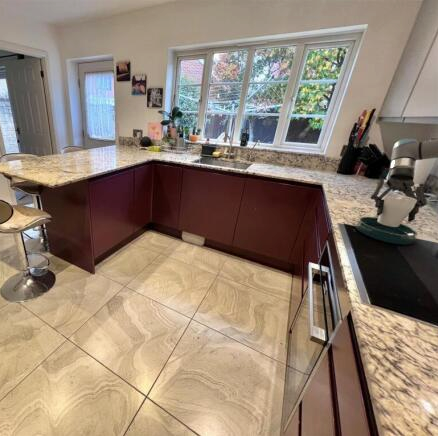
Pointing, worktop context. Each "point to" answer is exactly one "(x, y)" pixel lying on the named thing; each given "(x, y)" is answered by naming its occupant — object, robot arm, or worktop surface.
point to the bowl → (386, 231)
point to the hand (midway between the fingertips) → (394, 217)
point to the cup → (396, 209)
